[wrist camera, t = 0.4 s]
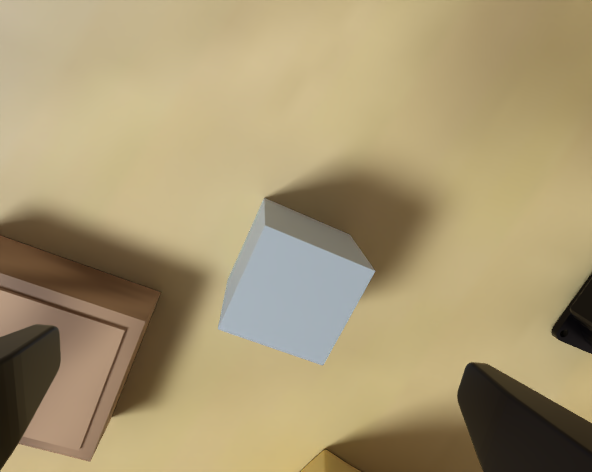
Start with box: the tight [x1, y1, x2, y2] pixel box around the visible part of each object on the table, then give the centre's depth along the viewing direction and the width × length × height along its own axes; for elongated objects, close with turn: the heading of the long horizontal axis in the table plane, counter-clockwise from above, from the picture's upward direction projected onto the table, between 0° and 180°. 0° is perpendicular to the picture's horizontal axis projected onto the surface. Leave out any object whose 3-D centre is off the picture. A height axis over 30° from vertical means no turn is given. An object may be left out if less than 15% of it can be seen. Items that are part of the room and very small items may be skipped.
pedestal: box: [0, 236, 161, 461], centre depth 19 cm, size 9×9×3 cm
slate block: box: [218, 198, 375, 365], centre depth 19 cm, size 5×5×5 cm
